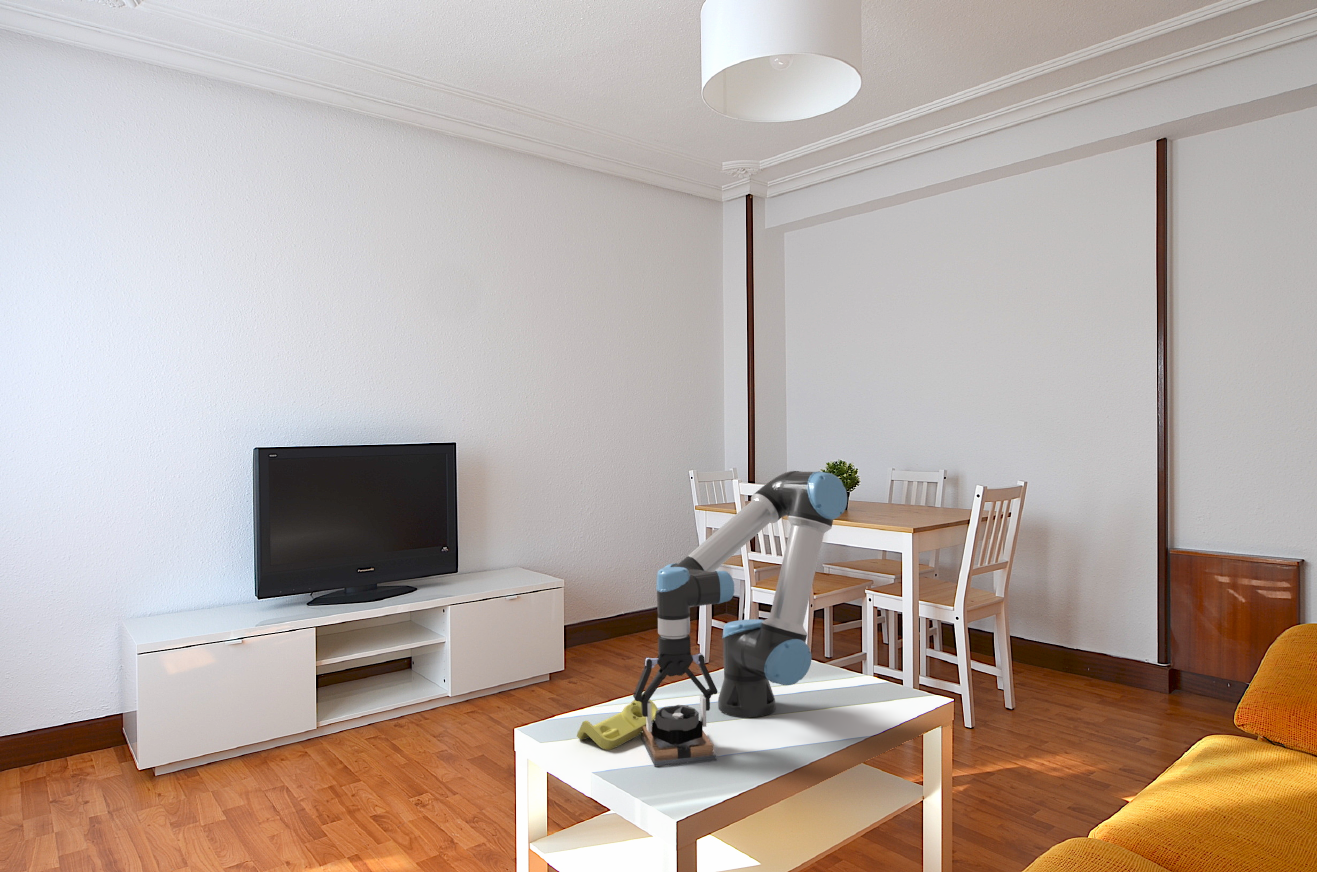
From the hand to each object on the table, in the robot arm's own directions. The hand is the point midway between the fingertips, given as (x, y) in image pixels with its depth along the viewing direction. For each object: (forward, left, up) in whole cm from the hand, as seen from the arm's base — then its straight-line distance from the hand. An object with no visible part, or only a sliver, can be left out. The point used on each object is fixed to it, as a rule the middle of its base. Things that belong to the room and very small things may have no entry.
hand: (676, 727), depth 186 cm
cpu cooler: (0, +1, -2) cm, 2 cm away
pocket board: (0, 0, -5) cm, 5 cm away
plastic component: (+11, -11, -5) cm, 17 cm away
